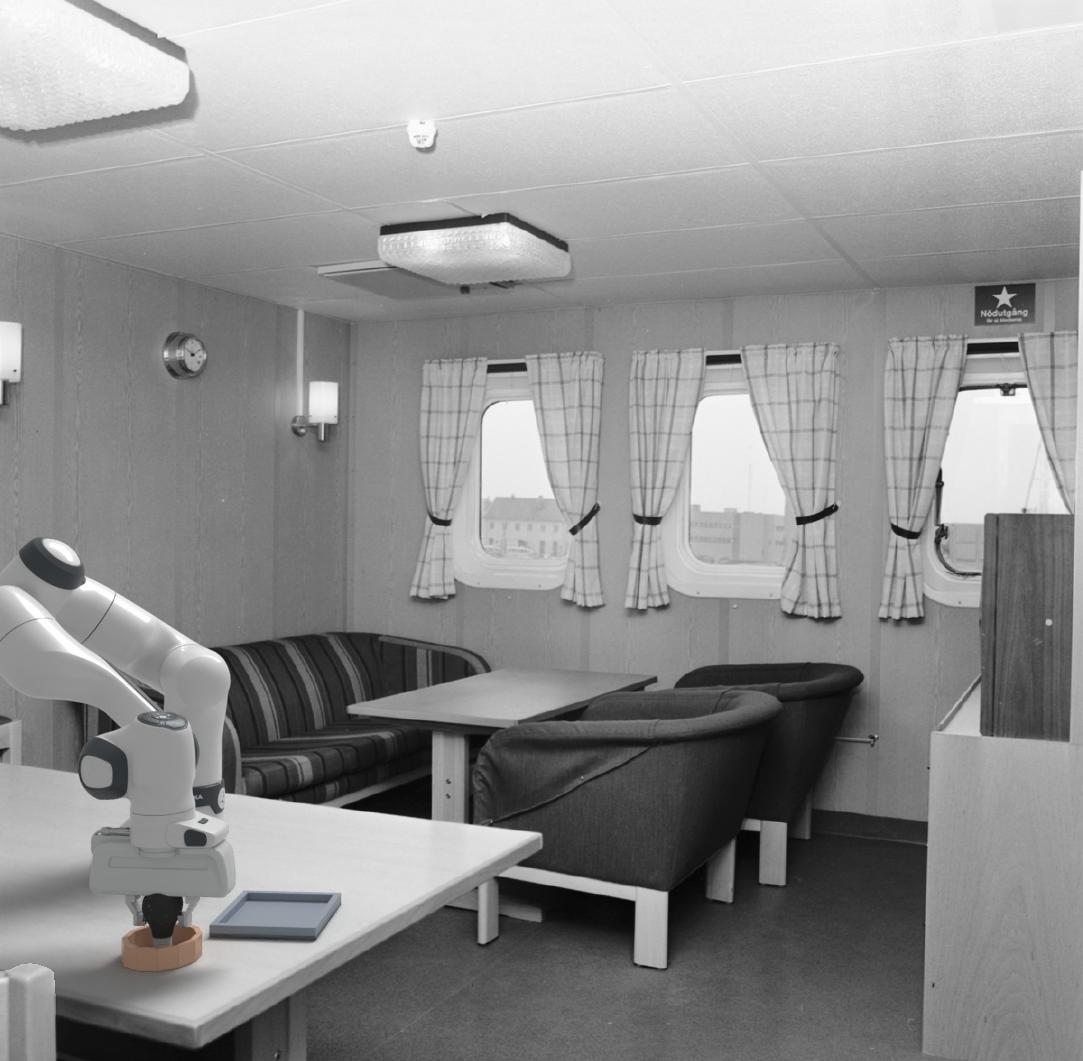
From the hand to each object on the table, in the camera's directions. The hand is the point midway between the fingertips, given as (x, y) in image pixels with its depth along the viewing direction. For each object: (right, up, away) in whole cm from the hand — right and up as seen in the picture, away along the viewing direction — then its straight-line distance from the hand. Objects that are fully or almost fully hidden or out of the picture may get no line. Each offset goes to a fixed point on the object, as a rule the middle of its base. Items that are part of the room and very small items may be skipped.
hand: (162, 925), depth 166 cm
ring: (0, -4, 0) cm, 4 cm away
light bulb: (0, -4, 0) cm, 4 cm away
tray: (+13, -4, +15) cm, 20 cm away
